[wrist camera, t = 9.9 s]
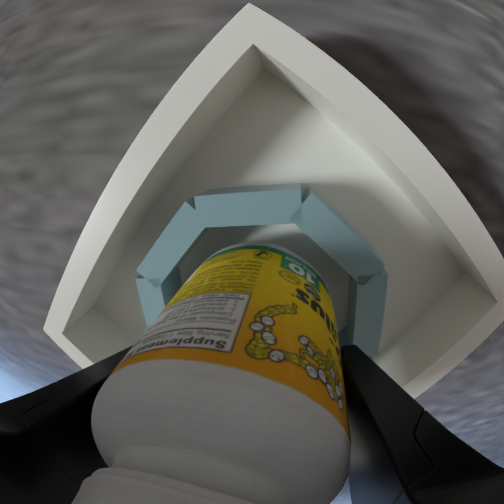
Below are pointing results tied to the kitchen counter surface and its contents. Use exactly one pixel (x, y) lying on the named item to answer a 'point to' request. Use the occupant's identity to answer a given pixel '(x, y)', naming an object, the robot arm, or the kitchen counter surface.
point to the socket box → (286, 209)
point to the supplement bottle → (229, 392)
